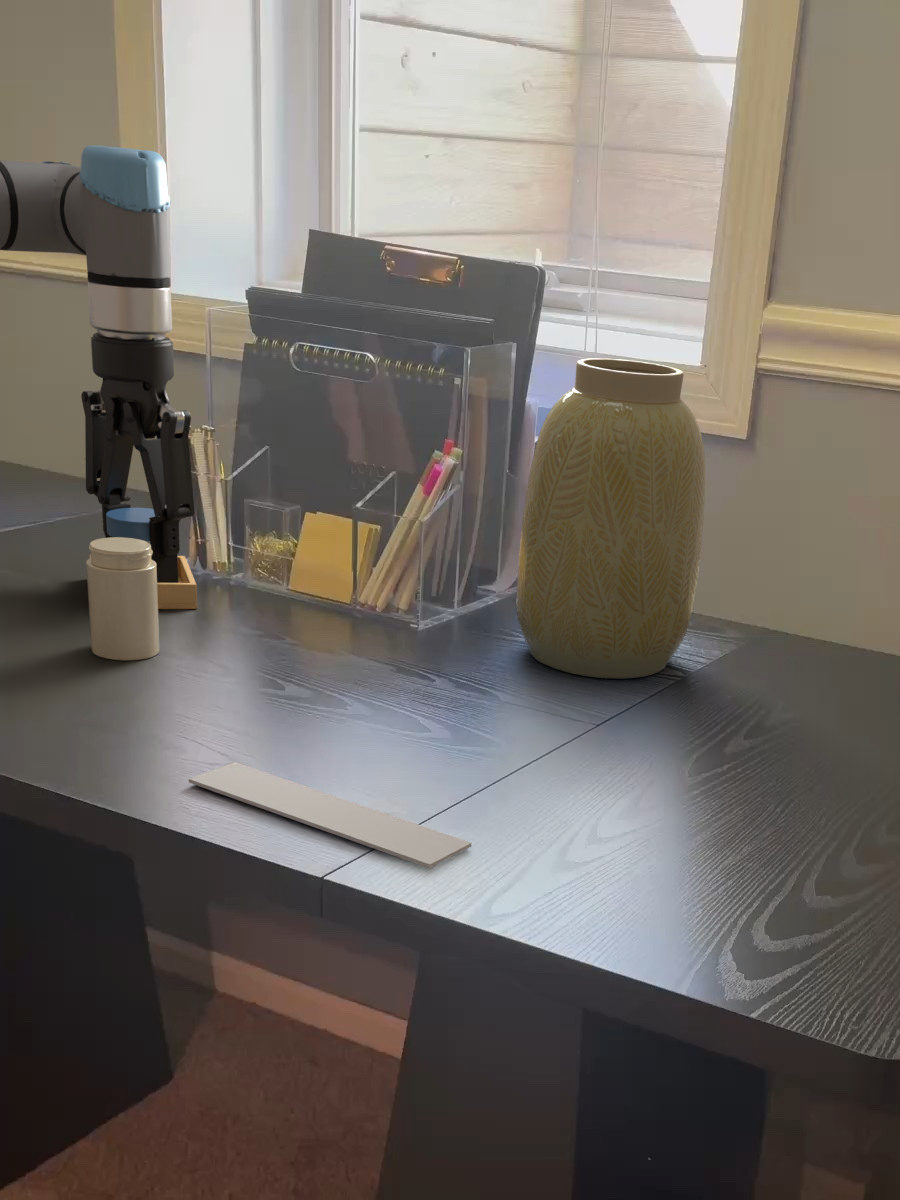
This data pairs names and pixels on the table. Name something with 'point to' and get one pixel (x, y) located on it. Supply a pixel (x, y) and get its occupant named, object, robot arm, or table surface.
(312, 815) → the nameplate
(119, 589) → the jar
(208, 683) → the table surface
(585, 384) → the vase
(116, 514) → the lid
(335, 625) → the table surface
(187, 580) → the tray
